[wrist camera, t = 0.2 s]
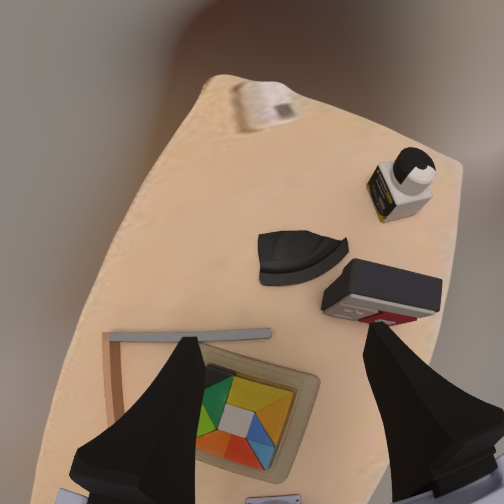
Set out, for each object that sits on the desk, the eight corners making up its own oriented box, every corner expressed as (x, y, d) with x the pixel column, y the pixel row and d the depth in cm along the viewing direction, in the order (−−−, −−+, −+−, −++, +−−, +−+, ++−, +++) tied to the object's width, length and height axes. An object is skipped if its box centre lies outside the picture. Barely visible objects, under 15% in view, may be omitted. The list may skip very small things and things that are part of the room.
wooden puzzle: (194, 339, 43) (188, 339, 40) (321, 376, 41) (326, 378, 37) (163, 444, 38) (155, 451, 35) (285, 480, 36) (286, 490, 33)
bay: (279, 486, 35) (280, 496, 32) (126, 479, 35) (118, 486, 32) (269, 329, 42) (270, 328, 39) (112, 333, 43) (102, 332, 39)
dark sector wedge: (351, 282, 45) (354, 280, 43) (259, 288, 45) (259, 286, 43) (344, 230, 47) (346, 226, 45) (257, 234, 47) (257, 230, 46)
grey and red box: (318, 315, 43) (346, 299, 28) (324, 286, 44) (353, 257, 30) (388, 329, 42) (440, 318, 27) (392, 301, 43) (444, 279, 29)
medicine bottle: (365, 185, 49) (388, 143, 37) (399, 178, 49) (427, 139, 38) (380, 223, 47) (410, 188, 35) (415, 215, 47) (449, 181, 35)
